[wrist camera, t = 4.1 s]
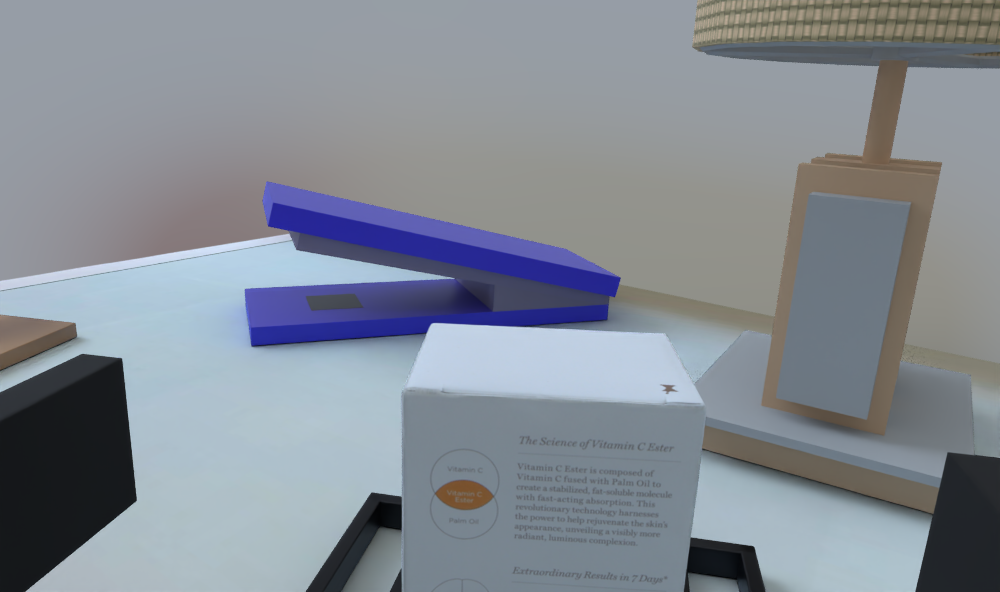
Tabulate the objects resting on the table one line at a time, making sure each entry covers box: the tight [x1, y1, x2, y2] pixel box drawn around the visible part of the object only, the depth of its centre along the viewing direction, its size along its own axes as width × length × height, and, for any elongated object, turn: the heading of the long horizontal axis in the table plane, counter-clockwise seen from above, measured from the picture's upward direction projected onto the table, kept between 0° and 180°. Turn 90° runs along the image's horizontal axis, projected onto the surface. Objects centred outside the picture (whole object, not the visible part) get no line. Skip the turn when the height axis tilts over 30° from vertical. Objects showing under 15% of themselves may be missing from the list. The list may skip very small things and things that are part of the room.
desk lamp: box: [692, 0, 1000, 514], centre depth 37 cm, size 20×20×35 cm
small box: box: [401, 323, 706, 592], centre depth 23 cm, size 8×6×10 cm
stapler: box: [245, 182, 621, 346], centre depth 58 cm, size 12×28×10 cm, turn 110°
